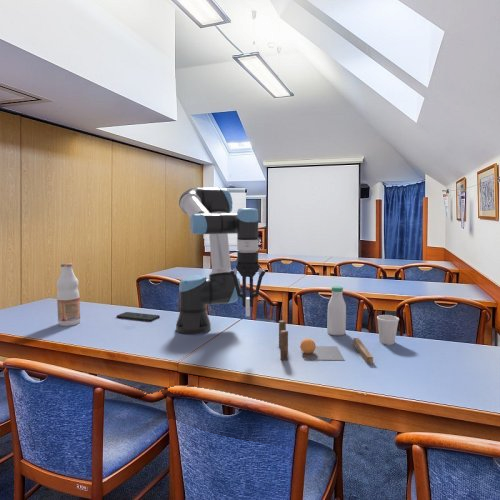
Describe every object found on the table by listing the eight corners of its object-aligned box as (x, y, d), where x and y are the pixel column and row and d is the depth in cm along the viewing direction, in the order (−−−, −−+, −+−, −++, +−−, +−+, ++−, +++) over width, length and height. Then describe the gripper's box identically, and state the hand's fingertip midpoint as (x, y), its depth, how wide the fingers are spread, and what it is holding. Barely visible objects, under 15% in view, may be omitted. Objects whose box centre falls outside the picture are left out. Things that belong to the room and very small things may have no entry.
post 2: (280, 360, 137) (280, 332, 136) (280, 357, 139) (280, 330, 138) (288, 360, 137) (288, 332, 136) (287, 357, 139) (287, 330, 138)
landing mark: (304, 360, 137) (304, 359, 137) (300, 346, 151) (300, 345, 151) (344, 360, 137) (344, 359, 137) (336, 346, 151) (336, 346, 150)
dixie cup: (386, 346, 150) (387, 321, 149) (371, 340, 158) (372, 316, 157) (402, 343, 154) (403, 319, 153) (387, 337, 161) (388, 313, 160)
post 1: (278, 348, 149) (279, 322, 148) (278, 345, 152) (278, 320, 151) (285, 348, 149) (286, 322, 148) (285, 345, 152) (285, 320, 151)
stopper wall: (367, 364, 133) (367, 356, 133) (353, 344, 153) (353, 338, 153) (373, 364, 133) (373, 357, 133) (358, 344, 153) (358, 338, 153)
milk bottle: (345, 336, 163) (347, 289, 161) (327, 335, 164) (327, 288, 162) (345, 331, 170) (346, 285, 168) (327, 330, 172) (328, 285, 170)
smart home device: (150, 319, 184) (115, 315, 191) (150, 322, 185) (115, 319, 192) (160, 315, 192) (126, 311, 199) (160, 318, 192) (126, 314, 199)
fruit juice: (53, 325, 178) (50, 264, 175) (67, 320, 187) (64, 262, 185) (72, 327, 176) (69, 265, 174) (84, 321, 186) (82, 262, 183)
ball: (311, 338, 140) (319, 351, 140) (310, 333, 146) (317, 346, 146) (297, 345, 141) (305, 358, 141) (297, 341, 146) (305, 353, 146)
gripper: (228, 252, 137) (229, 318, 140) (266, 252, 137) (265, 318, 139) (230, 250, 145) (230, 312, 147) (265, 250, 144) (265, 313, 147)
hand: (247, 315), depth 143 cm, fingers closed
